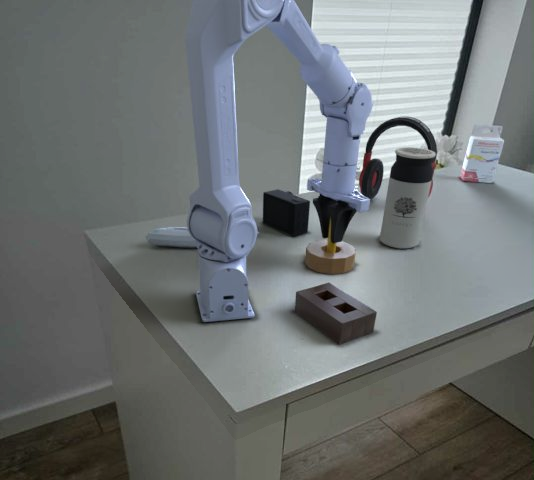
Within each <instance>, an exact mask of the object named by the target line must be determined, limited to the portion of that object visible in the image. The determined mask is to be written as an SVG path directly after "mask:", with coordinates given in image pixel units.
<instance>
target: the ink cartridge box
mask: <svg viewBox="0 0 534 480" xmlns="http://www.w3.org/2000/svg"><path fill="white" fill-rule="evenodd" d="M487 129H488V130H489V131H483V130H487ZM503 129H504V127H503V125H492V124H491V125H489V124H474V125H473V127H472V130H471V135H470V136H469V140H468V144H467V148H466V152H465V156H464V159H463V164H462V168H461V172H460V176H459V177H460V178H461V180H462V181H463V182H471V183H472V182H473V183H486V184H487V183H488V184H493V182H494V179H495V176H496V172H497V168H498V166H499V163H500V162H499V161H500V159H501V155H502V151H503V147H504V144H505V140H504V139H503V138H502V137H501V136H502V132H503ZM461 173H462V175H463V176H464V177H470V178H464V177H463V176H462V175H461ZM475 178H487V179H475ZM491 179H493V180H491Z"/></svg>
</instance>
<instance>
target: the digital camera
mask: <svg viewBox="0 0 534 480" xmlns="http://www.w3.org/2000/svg"><path fill="white" fill-rule="evenodd" d="M310 206H311V200H309V199H306V198H303V197H301V196H299V195H295V194H294V193H293V192H292V191H289V190H287V191H285V190H282V189H279V188H278V189H273V190H268V191H264V192H263V193H262V224H264V225H266V226H268V227H270V228H273V229H275V230H278V231H279V232H282V233H284V234H286V235H287V236H291V237H293V238H295V237H297V236H301V235H304V234H308V232H309V220H310V209H311V208H310Z"/></svg>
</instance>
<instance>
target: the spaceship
mask: <svg viewBox="0 0 534 480" xmlns="http://www.w3.org/2000/svg"><path fill="white" fill-rule="evenodd" d="M258 235H260V231H258V230H257V236H258ZM144 238H145V239H146V240H147V242H148V243H150V244H151V245H155V246H158V247H173V248H197V247H196V239H194V238H193V237H192V236H191V235H190V233H189V231H188V228H187V227H184V226H169V227H159V228H156V229H153V230H151V231H149V232H147V234H146V236H144Z"/></svg>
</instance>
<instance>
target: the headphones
mask: <svg viewBox="0 0 534 480" xmlns="http://www.w3.org/2000/svg"><path fill="white" fill-rule="evenodd" d="M396 127H407V128H411V129H413V130H415V131H416V132H417V133H418V134H420V136H421V137H422V139H423V140H424V142H425V144H426V148H427V150H431V151H433V152H435V153H436V156H435V157H434V158H433V160H432V163H431V164H432V168H433V171H434V172H433V175H434V174H435V170H436V163H437V161H436V159H437V157H438V145H437V140H436V138H435V136H434V134H433V132H432V130H431V129H430V128H429V127H428V125H427V124H425V123H424V122H422V121H421V120H420V119H418V118H416V117H412V116H409V115H407V116H406V115H404V116H402V115H401V116H396V117H393V118H390V119H388V120H385V121H383V122H382V123H380V124H379V125H378V126H377V127H376V128H375V129H374V130H373V132H372V133H371V134H370V136H369V137H368V139H367V142H366V145H365V152H364V154H363V160H362V168H361V171H360V174H359V177H358V187H359V189H360V190H359V191H360V193H361V194H362V195H363V196H365V197H366V198H368V199H370V200H372V199H374V198H375V197H376V196H377V195H378V193H379V191H380V189H381V187H382V183H383V180H384V179H383V178H384V171H385V170H384V163H383V161H382V160H381V159H380V158H378V157H374V158H372V154H373V149H374V147H375V144H376V142H377V140H378V139H379V138H380V136H381V135H382V134H383V133H384V132H386V131H387V130H389V129H392V128H396ZM433 177H434V176H433ZM433 177H432V181H431V186H430V191H429V196H428V199H429V197H430V196H431V194H432V191H433V188H434V187H433V186H434V180H433Z"/></svg>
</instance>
